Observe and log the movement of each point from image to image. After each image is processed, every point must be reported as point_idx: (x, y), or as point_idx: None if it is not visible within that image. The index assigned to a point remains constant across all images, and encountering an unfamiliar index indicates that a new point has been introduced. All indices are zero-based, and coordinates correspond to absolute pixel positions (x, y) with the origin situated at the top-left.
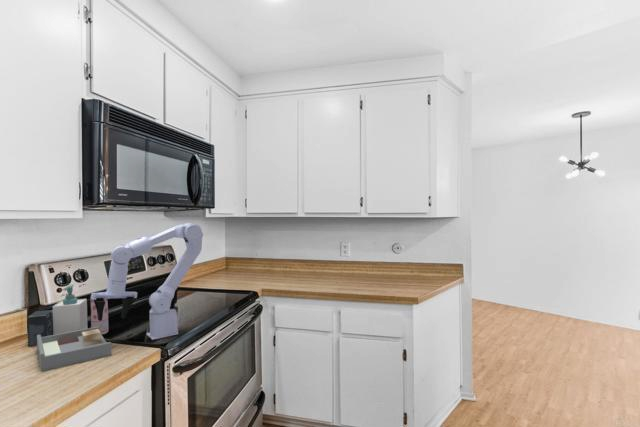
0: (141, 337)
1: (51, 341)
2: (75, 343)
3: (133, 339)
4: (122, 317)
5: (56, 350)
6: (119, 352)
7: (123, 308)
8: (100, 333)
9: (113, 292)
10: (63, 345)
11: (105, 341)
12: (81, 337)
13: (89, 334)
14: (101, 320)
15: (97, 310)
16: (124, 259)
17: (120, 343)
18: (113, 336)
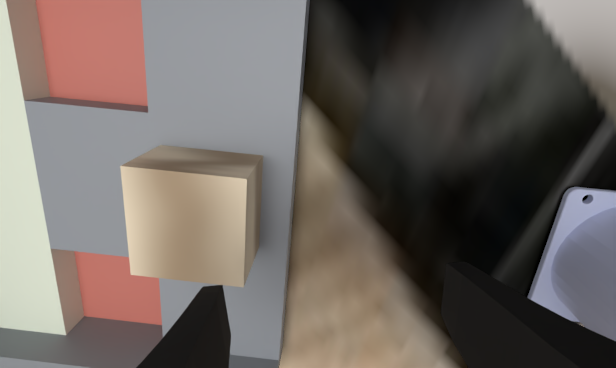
0: (512, 211)
1: None
2: (122, 138)
3: (459, 211)
4: (446, 302)
5: (23, 190)
6: (321, 343)
7: (515, 358)
8: (241, 282)
9: None
10: (53, 123)
11: (284, 243)
12: (165, 17)
13: (168, 270)
14: (228, 338)
15: (154, 366)
16: None
17: (373, 223)
18: (395, 38)
